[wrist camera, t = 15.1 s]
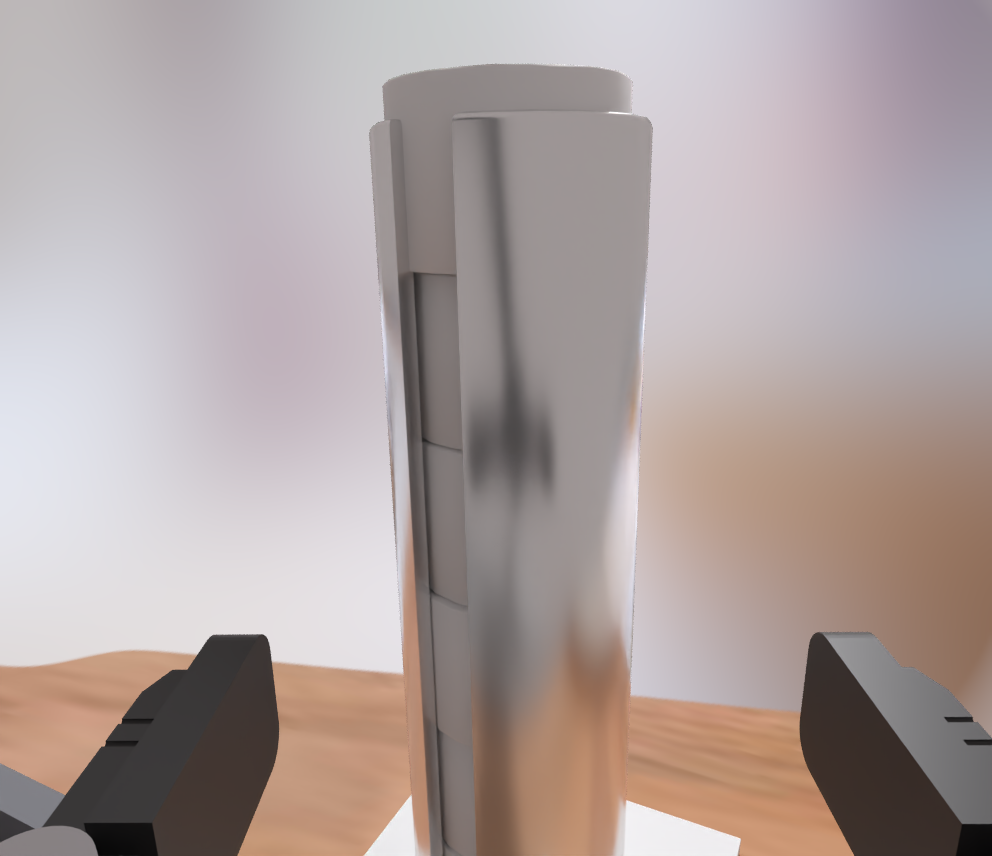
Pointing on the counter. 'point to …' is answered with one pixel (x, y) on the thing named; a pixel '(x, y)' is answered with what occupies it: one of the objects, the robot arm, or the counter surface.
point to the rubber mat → (648, 835)
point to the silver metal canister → (514, 444)
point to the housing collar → (24, 803)
